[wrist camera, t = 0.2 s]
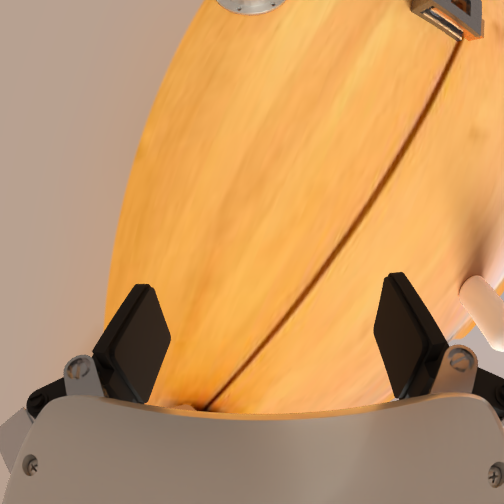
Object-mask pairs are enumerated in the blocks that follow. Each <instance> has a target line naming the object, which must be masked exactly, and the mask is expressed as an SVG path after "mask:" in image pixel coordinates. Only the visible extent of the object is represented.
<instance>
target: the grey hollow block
mask: <svg viewBox="0 0 504 504" xmlns="http://www.w3.org/2000/svg"><path fill="white" fill-rule="evenodd" d="M411 12H413V13H415V14H416V15H418V16H420V17H421V18H423V19H425V20H426V21H428V22H430V23H431V24H433V25H434V26H436V27H437V28H439V29H440V30H442V31H443V32H445V33H446V34H448V35H449V36H451V37H452V38H453V39H455V40H456V41H461V40H462V36H463V37H465V38H466V39H467V40H468V41H470V40H475V39H480V38H484V20H483V19H482V1H481V0H413V1H412V8H411Z"/></svg>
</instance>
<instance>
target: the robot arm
mask: <svg viewBox="0 0 504 504" xmlns="http://www.w3.org/2000/svg"><path fill="white" fill-rule="evenodd" d="M216 1H217V2H218V3H219V4H220V5H221V6H222V7H223V8H225V9H226V10H228V11H230V12H233V13H236V14H241V15H260V14H265V13H268V12H270V11H273V10H275V9H277V8H278V7H279V6H281V5H282V4H283V3H284V2H285V1H286V0H216ZM272 5H275V6H272ZM239 9H240V11H238V10H239ZM374 336H375V339H376V342H377V344H378V347H379V350H380V353H381V356H382V359H383V362H384V365H385V368H386V371H387V374H388V377H389V380H390V383H391V386H392V390H393V393H394V396H395V398H399V400H397V401H392V402H387V403H381V404H375V405H369V406H362V407H356V408H348V409H340V410H331V411H321V412H307V413H289V414H232V413H214V412H200V411H189V410H181V409H172V408H165V407H158V406H152V405H145V404H144V403H147V402H148V400H149V397H150V395H151V392H152V389H153V386H154V384H155V381H156V378H157V375H158V373H159V370H160V367H161V365H162V362H163V360H164V357H165V354H166V352H167V349H168V347H169V344H170V341H171V335H170V332H169V329H168V327H167V324H166V321H165V319H164V316H163V313H162V310H161V307H160V304H159V301H158V298H157V295H156V292H155V290H154V288H152V287H151V286H150V285H149V284H136V285H135V286H134V287H133V288H132V290H131V291H130V293H129V294H128V296H127V297H126V299H125V300H124V302H123V303H122V305H121V306H120V308H119V309H118V311H117V312H116V314H115V315H114V317H113V318H112V320H111V322H110V323H109V325H108V326H107V328H106V329H105V331H104V333H103V334H102V336H101V337H100V339H99V341H98V342H97V344H96V346H95V347H94V349H93V351H92V352H93V353H94V354H93V356H92V358H91V357H90V356H88V355H79V356H76V357H74V358H72V359H71V360H70V361H69V362H68V363H67V364H66V366H65V368H64V377H63V378H61V379H59V380H57V381H55V382H53V383H51V384H49V385H46V386H44V387H42V388H40V389H38V390H36V391H35V392H33V393H32V394H31V395H30V396H29V398H28V400H27V409H25V408H24V407H23V408H21V410H19V411H18V412H17V413H16V414H14V415H13V416H12V417H11V418H10V419H8V420H7V421H6V422H5V423H4V424H3V425H1V426H0V452H1V454H2V456H3V459H4V461H5V464H6V466H7V468H8V470H9V472H10V474H11V475H10V478H9V481H8V484H7V488H6V491H5V495H4V499H3V503H2V504H504V379H503V378H501V377H499V376H496V375H494V374H492V373H490V372H488V371H485V370H483V369H481V368H479V367H478V360H477V357H476V355H475V353H474V352H473V351H472V350H471V349H470V348H468V347H466V346H463V345H453V346H450V347H449V345H448V343H447V341H446V339H445V338H444V336H443V334H442V332H441V331H440V329H439V327H438V325H437V324H436V322H435V320H434V319H433V317H432V315H431V314H430V312H429V311H428V309H427V307H426V306H425V304H424V303H423V301H422V300H421V298H420V297H419V295H418V294H417V292H416V291H415V289H414V287H413V286H412V284H411V283H410V282H409V280H408V279H407V277H406V276H405V274H404V273H403V272H397V273H390V274H389V275H388V277H385V278H384V282H383V287H382V292H381V297H380V302H379V307H378V311H377V315H376V320H375V324H374Z"/></svg>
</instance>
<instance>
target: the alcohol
mask: <svg viewBox="0 0 504 504" xmlns="http://www.w3.org/2000/svg"><path fill="white" fill-rule="evenodd" d="M459 300H460V302H461V304H462V305H463V306H464V308H465V309H466V310H467V312H468V313H469V314H470V316H471V317H472V319H473V320H474V322H475V323H476V324H477V326H478V327H479V329H480V330H481V332H482V333H483V335H484V336H485V338H486V340H487V341H488V343H489V344H490V346H491V347H492V348H493V349H495V350H497V351H503V352H504V301H503V300H502V299H501V298H500V296H499V295H498V294H497V293H496V292H495V291H494V290H493V288H492V287H491V286H490V285H489V284H488V283H487V282H486V281H485V280H484V279H483V278H482V277H481V276H477V275H475V276H472V277H470V278H468V279H467V280H466V281H465V282H464V284H463V285H462V287H461V289H460V292H459Z"/></svg>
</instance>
